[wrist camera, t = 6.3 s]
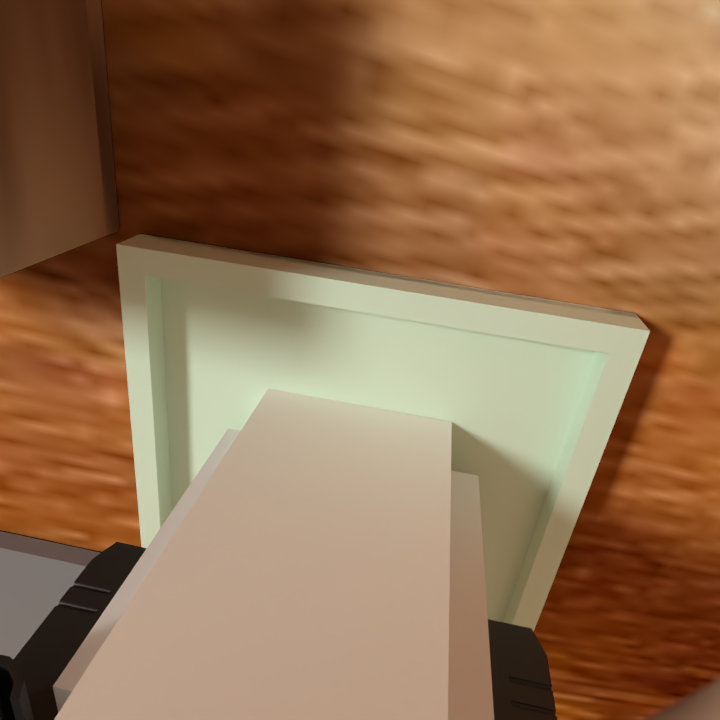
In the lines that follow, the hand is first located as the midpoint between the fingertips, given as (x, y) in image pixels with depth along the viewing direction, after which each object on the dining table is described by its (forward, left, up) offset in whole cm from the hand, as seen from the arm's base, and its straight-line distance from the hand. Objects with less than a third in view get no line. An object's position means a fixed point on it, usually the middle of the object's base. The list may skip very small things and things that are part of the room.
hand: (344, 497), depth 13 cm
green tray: (0, 0, -1) cm, 1 cm away
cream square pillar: (0, 0, -1) cm, 1 cm away
